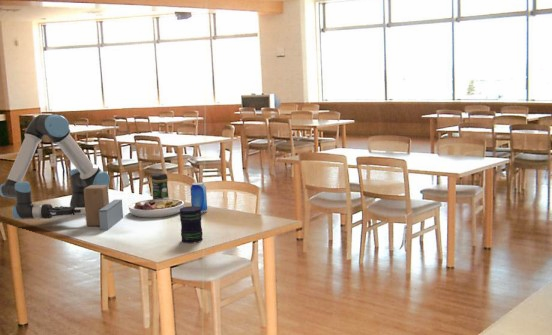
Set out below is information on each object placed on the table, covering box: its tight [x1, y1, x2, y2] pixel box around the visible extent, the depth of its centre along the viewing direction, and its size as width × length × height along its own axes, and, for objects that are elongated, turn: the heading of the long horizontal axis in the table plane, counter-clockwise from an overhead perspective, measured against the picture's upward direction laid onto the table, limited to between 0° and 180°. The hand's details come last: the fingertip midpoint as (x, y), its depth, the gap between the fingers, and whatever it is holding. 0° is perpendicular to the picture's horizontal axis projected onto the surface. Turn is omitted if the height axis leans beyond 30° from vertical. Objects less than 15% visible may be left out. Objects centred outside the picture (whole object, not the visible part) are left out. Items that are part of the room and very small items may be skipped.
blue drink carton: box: [190, 181, 208, 214], centre depth 361 cm, size 8×8×16 cm
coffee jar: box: [151, 172, 170, 199], centre depth 386 cm, size 10×8×19 cm
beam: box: [99, 199, 124, 231], centre depth 341 cm, size 26×4×10 cm, turn 177°
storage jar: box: [179, 205, 203, 244], centre depth 302 cm, size 10×10×15 cm
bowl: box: [128, 198, 185, 219], centre depth 364 cm, size 30×30×8 cm
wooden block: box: [84, 185, 110, 227], centre depth 341 cm, size 10×10×20 cm
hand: (87, 210), depth 341 cm, fingers closed
